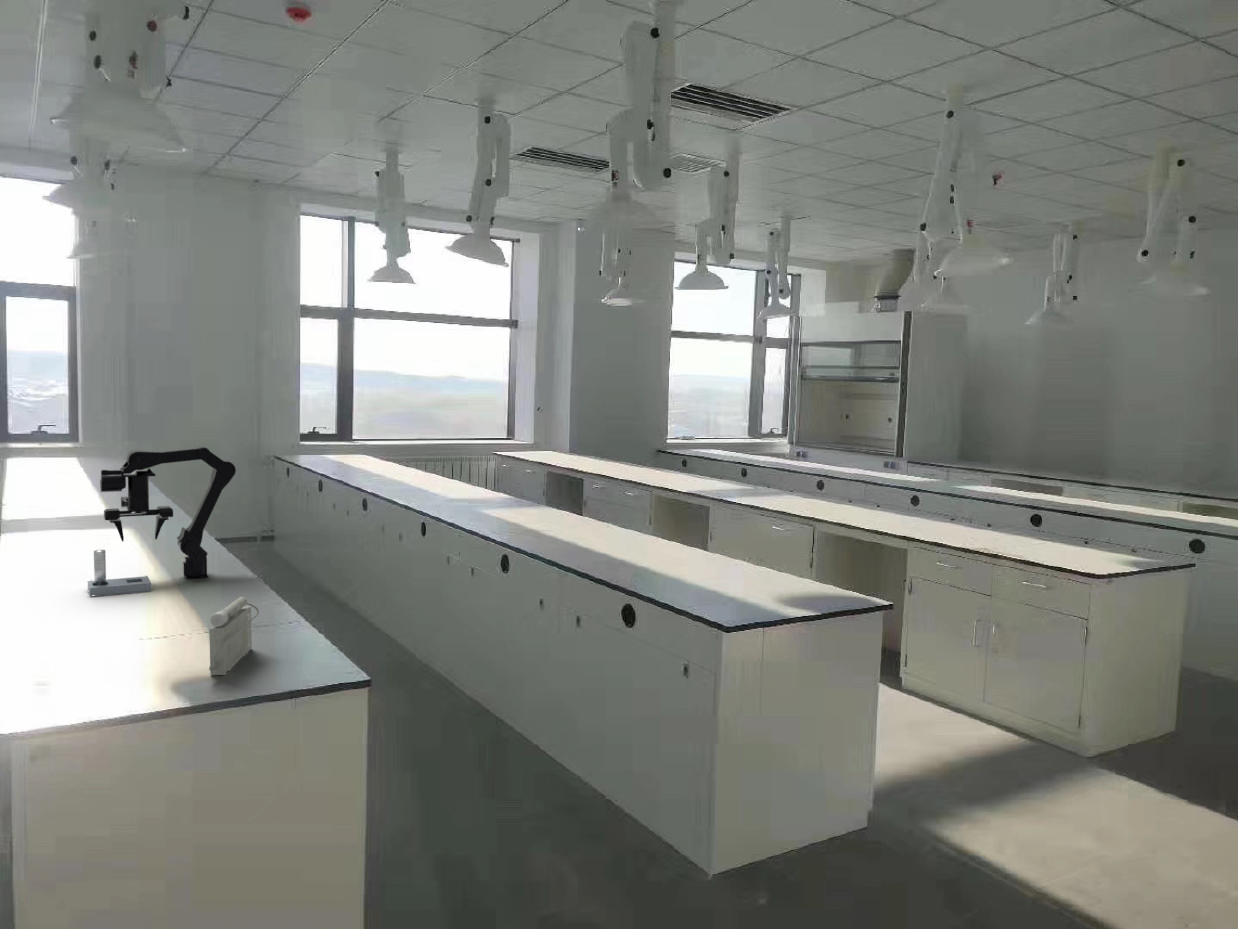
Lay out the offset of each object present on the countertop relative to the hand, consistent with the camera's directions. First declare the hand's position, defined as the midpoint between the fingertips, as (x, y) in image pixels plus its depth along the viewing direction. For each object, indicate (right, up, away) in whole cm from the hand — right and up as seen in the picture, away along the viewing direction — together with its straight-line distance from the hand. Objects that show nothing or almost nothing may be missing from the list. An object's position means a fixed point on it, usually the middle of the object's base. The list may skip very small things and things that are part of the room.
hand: (139, 540), depth 283 cm
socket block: (0, -14, -11) cm, 18 cm away
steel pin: (-5, -14, -13) cm, 20 cm away
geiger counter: (+60, -23, -74) cm, 98 cm away
